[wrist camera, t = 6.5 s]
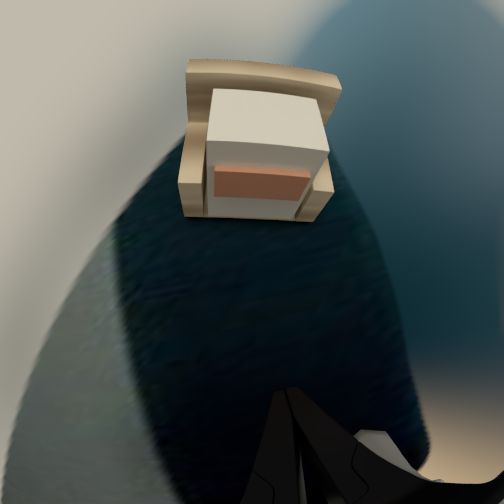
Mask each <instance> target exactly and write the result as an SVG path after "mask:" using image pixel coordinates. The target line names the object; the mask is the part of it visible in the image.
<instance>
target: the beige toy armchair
mask: <svg viewBox="0 0 504 504" xmlns="http://www.w3.org/2000/svg"><path fill="white" fill-rule="evenodd" d="M213 89H236V90H250V91H261V92H270V93H279V94H286V95H293V96H300V97H306V98H312V99H316V100H317V104H318V108H319V111H320V115H321V119H322V122H323V126H324V127H325V125H326V123H327V121H328V119H329V117H330V115H331V113H332V110H333V108H334V106H335V104H336V102H337V100H338V98H339V96H340V93H341V91H342V88H341V86H340V83H339V81H338V79H337V77H336V75H332V74H327V73H323V72H319V71H314V70H309V69H303V68H297V67H291V66H285V65H278V64H270V63H261V62H251V61H238V60H216V59H211V60H210V59H190V61H189V63H188V67H187V70H186V94H187V111H188V126H187V131H186V136H185V142H184V147H183V153H182V159H181V165H180V171H179V178H178V187H179V192H180V197H181V202H182V207H183V212H184V216H186V217H220V218H247V219H268V220H287V221H305V222H313V221H314V220H315V218H316V217H317V215H318V214H319V213H320V211H321V210H322V209H323V207H324V206H325V204H326V203H327V202H328V200H329V199H330V197H331V196H332V195H333V193H334V188H333V183H332V178H331V173H330V168H329V163H328V158H327V157H326V159H325V161H324V163H323V164H322V166H321V168H320V170H319V172H318V173H317V175H316V177H315V179H314V181H313V182H312V184H311V186H310V188H309V190H308V191H307V193H306V195H305V197H304V199H303V200H302V202H301V204H300V206H299V207H298V209H297V211H296V213H295V214H294V216H293V218H292V219H278V218H258V217H235V216H208V197H207V155H206V139H207V131H208V123H209V116H210V108H211V101H212V95H213Z"/></svg>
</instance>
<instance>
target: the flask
mask: <svg viewBox="0 0 504 504" xmlns="http://www.w3.org/2000/svg"><path fill="white" fill-rule="evenodd" d="M354 437H355V438H356V439H357V440H358V442H359V441H360V442H361V443H363V444H364V445H365V446H366V447H368V448H369V449H370V450H372V451H373V452H374V453H376V454H377V455H379V456H380V457H382V458H384V459H385V460H387V461H389V462H390V463H392V464H394V465H396V466H398V467H400V468H402V469H403V470H405V471H407V472H409V473H411V474H413V475H415V476H418V477H420V478H422V479H425V480H429V479H427V478H425V477H423V476H421V475H420V474H419V473H418V472H417V471H415V470H414V469H413V468H412V467H411V466H410V465H409V463H408V462H407V461H406V460H405V458H404V457H403V456H402V454H401V453H400V451H399V450H398V448H397V447H396V445H395V444H394V443H393V441H392V440H391V438H390V437H389V435H388V434H387V433H386V431H373V430H360V431H359V432H358V433H356V434H355V435H354ZM429 481H432V480H429ZM433 482H443V483H444V481H443V480H440V479H438V480H433Z"/></svg>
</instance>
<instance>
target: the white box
mask: <svg viewBox="0 0 504 504" xmlns="http://www.w3.org/2000/svg"><path fill="white" fill-rule="evenodd" d="M329 152H330V151H329V146H328V142H327V138H326V134H325V130H324V126H323V122H322V119H321V115H320V111H319V108H318V104H317V100H316V99H312V98H306V97H300V96H293V95H286V94H279V93H270V92H261V91H250V90H236V89H213V95H212V101H211V108H210V116H209V123H208V131H207V139H206V155H207V197H208V216H235V217H258V218H278V219H292V218H293V216H294V214H295V213H296V211H297V209H298V207H299V206H300V204H301V202H302V200H303V199H304V197H305V195H306V193H307V191H308V190H309V188H310V186H311V184H312V182H313V181H314V179H315V177H316V175H317V173H318V172H319V170H320V168H321V166H322V164H323V163H324V161H325V159H326V157H327V155H328V154H329Z"/></svg>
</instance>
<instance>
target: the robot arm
mask: <svg viewBox="0 0 504 504" xmlns="http://www.w3.org/2000/svg"><path fill="white" fill-rule="evenodd" d="M298 440H299V441H298ZM299 443H300V445H301V447H302V449H303V452H304V454H305V456H306V458H307V460H308V462H309V464H310V466H311V469H312V471H313V473H314V475H315V477H316V479H317V481H318V483H319V485H320V487H321V489H322V491H323V493H324V495H325V497H326V499H327V501H328V503H329V504H504V471H502V472H501V473H500V474H499V475H498V476H497V477H496V478H495V479H493V480H492V481H489V482H487V483H482V484H460V483H459V484H458V483H443V482H433V481H429V480H425V479H422V478H420V477H418V476H415V475H413V474H411V473H409V472H407V471H405V470H403V469H402V468H400V467H398V466H396V465H394V464H392V463H390V462H389V461H387V460H385V459H384V458H382V457H380V456H379V455H377V454H376V453H374V452H373V451H372V450H370V449H369V448H368V447H366V446H365V445H364V444H363V443H361V442H360V441H359V442H358V440H357V439H356V438H355V437H354V436H353V435H351V434H350V433H349V432H348V431H347V430H345V429H344V428H343V427H342V426H341V425H340V424H338V423H337V422H336V421H335V420H334V419H333V418H331V417H330V416H329V415H328V414H327V413H326V412H325V411H323V410H322V409H321V408H320V407H319V406H318V405H317V404H316V403H314V402H313V401H312V400H311V399H310V398H309V397H308V396H307V395H306V394H304V393H303V392H302V391H301V390H300V389H299V388H298V387H296V386H294V387H290V388H287V389H285V390H279V391H275V392H273V393H272V397H271V401H270V405H269V409H268V413H267V417H266V421H265V425H264V429H263V433H262V437H261V441H260V445H259V448H258V452H257V456H256V459H255V463H254V466H253V472H252V473H251V476H250V480H249V483H248V486H247V489H246V491H245V494H244V496H243V499H242V501H241V503H240V504H307V501H306V492H305V484H304V476H303V469H302V461H301V453H300V446H299Z"/></svg>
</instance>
